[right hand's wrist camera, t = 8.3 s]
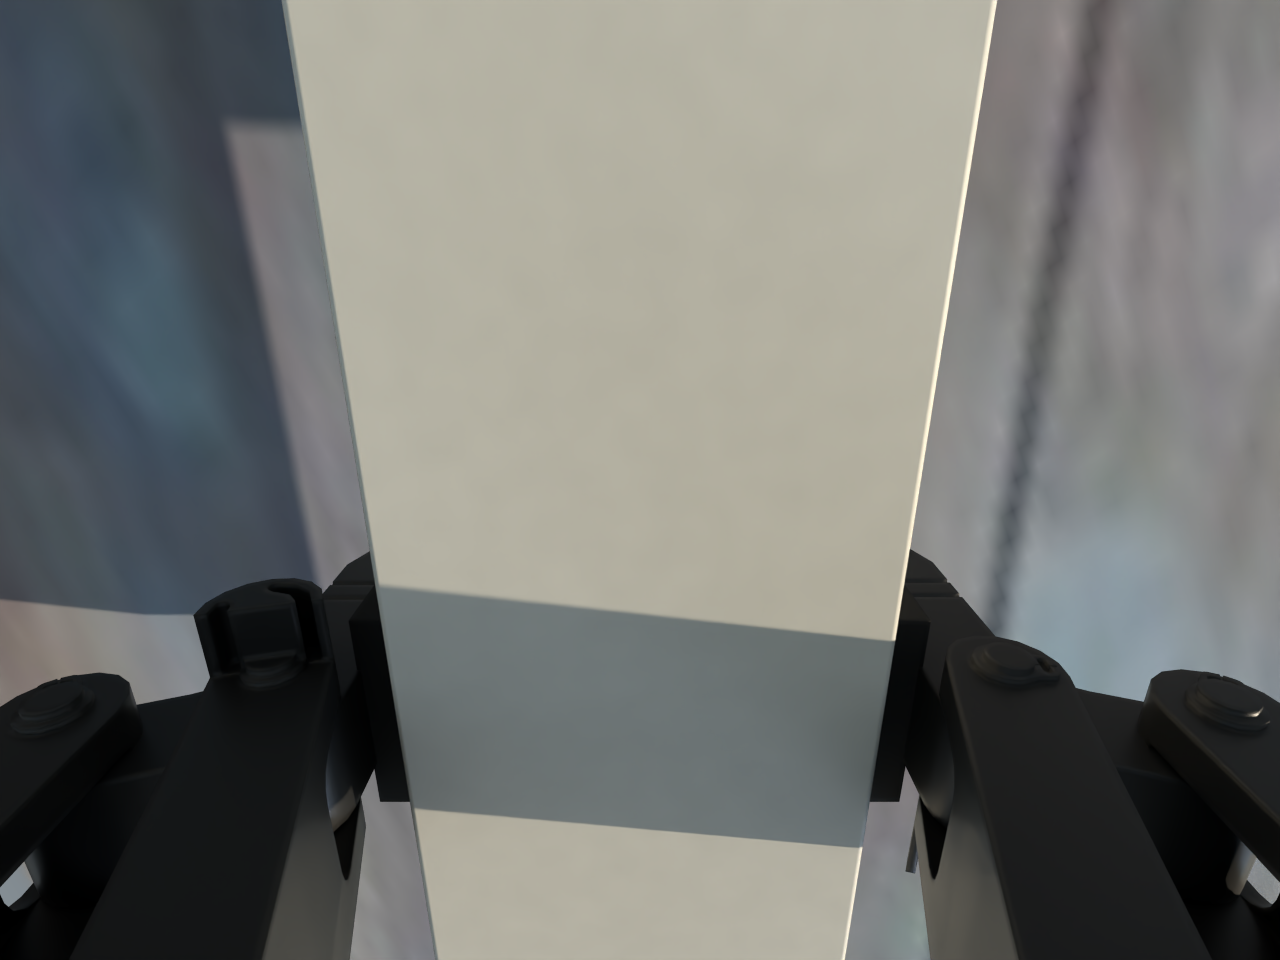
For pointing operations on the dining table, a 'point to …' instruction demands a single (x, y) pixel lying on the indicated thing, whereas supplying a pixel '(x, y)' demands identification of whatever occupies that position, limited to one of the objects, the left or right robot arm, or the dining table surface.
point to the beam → (639, 436)
